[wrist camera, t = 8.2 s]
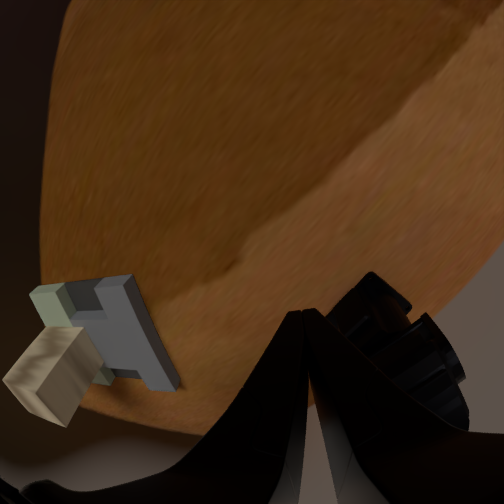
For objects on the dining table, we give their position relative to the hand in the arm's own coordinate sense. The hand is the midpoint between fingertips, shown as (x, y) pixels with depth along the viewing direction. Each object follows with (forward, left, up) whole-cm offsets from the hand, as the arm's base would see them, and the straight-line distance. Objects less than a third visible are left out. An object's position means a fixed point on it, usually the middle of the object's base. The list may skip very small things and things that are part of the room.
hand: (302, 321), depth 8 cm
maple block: (+10, +25, -11) cm, 30 cm away
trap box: (+8, +23, -13) cm, 27 cm away
